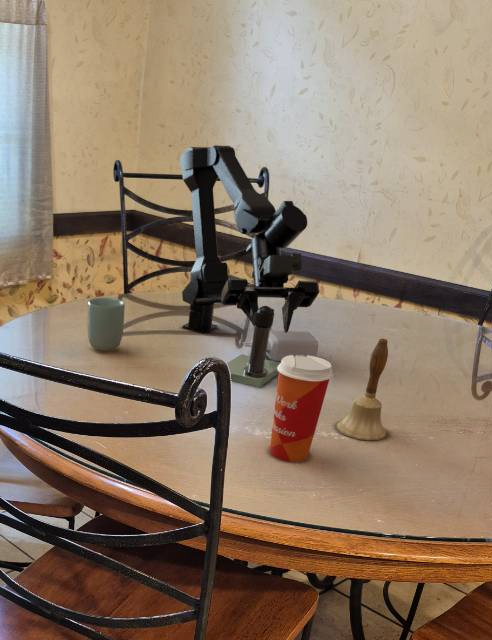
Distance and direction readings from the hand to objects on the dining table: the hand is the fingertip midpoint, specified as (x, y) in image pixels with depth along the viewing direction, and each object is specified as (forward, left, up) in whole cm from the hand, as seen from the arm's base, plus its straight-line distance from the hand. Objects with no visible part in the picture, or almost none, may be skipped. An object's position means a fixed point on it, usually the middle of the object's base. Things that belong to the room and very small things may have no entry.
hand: (272, 331), depth 142 cm
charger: (-13, -3, -9) cm, 16 cm away
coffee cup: (+34, +17, -9) cm, 39 cm away
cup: (+7, -35, -9) cm, 37 cm away
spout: (+3, -1, 0) cm, 3 cm away
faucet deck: (+2, -3, -9) cm, 10 cm away
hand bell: (+17, +24, -9) cm, 31 cm away
